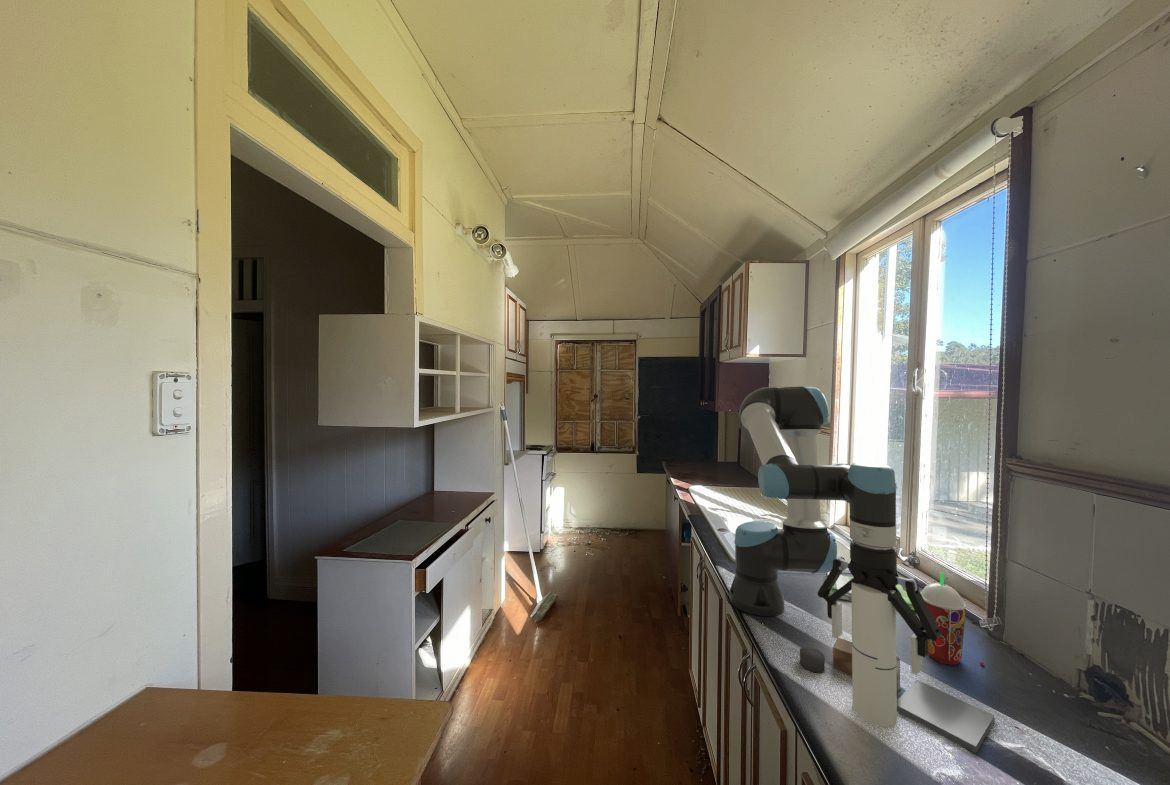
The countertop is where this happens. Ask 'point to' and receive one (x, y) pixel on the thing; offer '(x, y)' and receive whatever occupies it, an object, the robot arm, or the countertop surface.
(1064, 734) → the countertop surface
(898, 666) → the grey metal tin
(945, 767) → the countertop surface
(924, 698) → the plate
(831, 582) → the robot arm
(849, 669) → the walnut block
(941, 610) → the smoothie
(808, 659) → the black rubber puck
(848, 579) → the dish towel
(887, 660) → the cylindrical container
